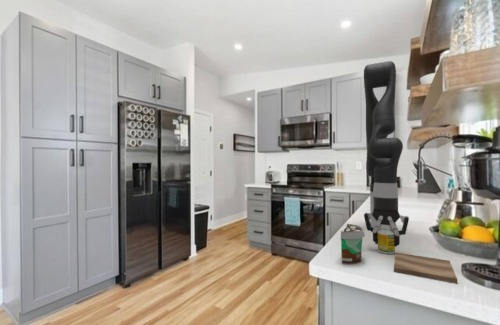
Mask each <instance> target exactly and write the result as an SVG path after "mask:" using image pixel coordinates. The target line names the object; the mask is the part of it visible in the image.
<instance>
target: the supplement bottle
mask: <svg viewBox="0 0 500 325" xmlns="http://www.w3.org/2000/svg"><path fill="white" fill-rule="evenodd" d="M379 227H380V229H379V230H377V240H378V244H377V252H379V253H381V254H384V255H385V254H386V255H393V254H396V247H395V233H394V231H393V230H392V227H391V225H383V224H380V225H379Z"/></svg>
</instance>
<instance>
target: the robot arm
mask: <svg viewBox="0 0 500 325" xmlns="http://www.w3.org/2000/svg"><path fill="white" fill-rule="evenodd" d="M396 69H397V68H396V64H395V63H394V61H392V60H390V61H383V62H377V63H370V64H366V65H365V67H364V69H363V87H364V96H365V99H364V100H365V132H366V133H365V135H366V166H365V167H366V174H367V176H369V177H372V178H373V184H371V185H370V186H369V194H370V195H369V200H370V202H369V204H370V207H369V208H370V212H365V213H364V214H363V217H364V221H365V226H366V230H367V231H369V232H371V233H372V241H373V243H375V245H378V240H377V231H378V230H379V229H380V227H379V225H380V224H383V225H391V227H392V230H393V231H394V233H395V248H397V247H398V246H400V244H401V242H400V240H401V239H400V237H401V236H402V235H403V236H404V235H406V233H407V229H408V225H409V220H410V217H409V216H408V215H401V214H400V212H399V188H398V167H399V161H400V159H401V156H402V153H403V148H404V145H403V142H402V140H401V139H400V138H398V137H388V136H389V135H392V134H393V133H394V132H395V131H396V130H395V129H396V122H395V119H396V118H395V100H396V99H395V98H396V86H397V85H396V84H397V70H396ZM384 87H385V88H386V89H385V91H384V93H383V95H382V96H381V98H380V100H378V98H377V97H376V95H375V92H374V89H378V88H384ZM399 219H400V221H401V223H402V227H401V229H400V230H399V229H398V225H397V224H396V223H397V222H398V220H399Z"/></svg>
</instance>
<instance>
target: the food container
mask: <svg viewBox="0 0 500 325" xmlns="http://www.w3.org/2000/svg"><path fill="white" fill-rule="evenodd" d="M365 236H366V235H365V229H363V227H362V226H359V225H357V224H352V223H346V228H344V229H343V231H340V245H341V248H340V249H341V251H340V252H341V264H345V263H346V264H348V265H351V264H353V265H354V264H359V263H361V261H362V251H363V238H364V237H365Z"/></svg>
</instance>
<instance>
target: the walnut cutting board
mask: <svg viewBox="0 0 500 325" xmlns="http://www.w3.org/2000/svg"><path fill="white" fill-rule="evenodd" d="M393 272H394V273H399V274H405V275H410V276H416V277H421V278H425V279H431V280H435V281H440V282H447V283H452V284H458V277H457V275H456V273H455V271H454V268H453V266H452V264H451V261H450V260H447V259H441V258H440V259H439V258H435V257H429V256H423V255H421V256H420V255H415V254H408V253H401V252H395V256H394V264H393Z"/></svg>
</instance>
